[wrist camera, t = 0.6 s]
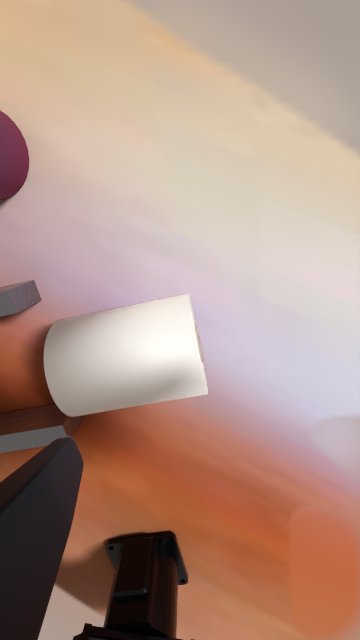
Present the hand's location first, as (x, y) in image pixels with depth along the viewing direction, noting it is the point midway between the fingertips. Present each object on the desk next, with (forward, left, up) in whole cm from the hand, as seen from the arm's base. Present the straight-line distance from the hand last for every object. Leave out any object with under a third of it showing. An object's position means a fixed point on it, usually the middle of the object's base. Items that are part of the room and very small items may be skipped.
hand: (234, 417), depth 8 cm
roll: (-2, +5, -13) cm, 14 cm away
